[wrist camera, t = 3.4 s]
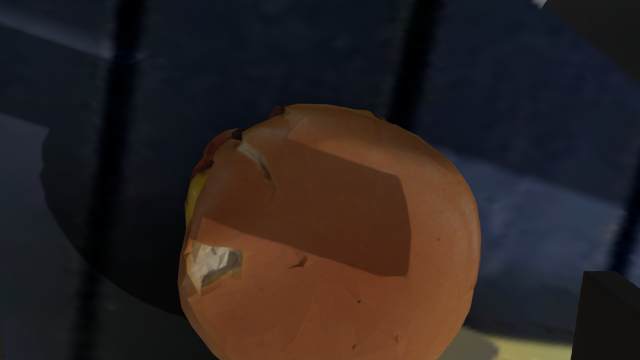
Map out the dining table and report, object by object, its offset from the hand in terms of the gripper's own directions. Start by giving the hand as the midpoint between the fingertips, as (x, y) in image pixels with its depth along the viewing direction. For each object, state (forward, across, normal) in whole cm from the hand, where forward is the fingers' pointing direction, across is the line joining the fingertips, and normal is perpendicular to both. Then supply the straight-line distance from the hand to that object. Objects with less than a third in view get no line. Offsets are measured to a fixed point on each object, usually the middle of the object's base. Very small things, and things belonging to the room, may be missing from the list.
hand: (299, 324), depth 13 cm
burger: (+8, +1, 0) cm, 8 cm away
